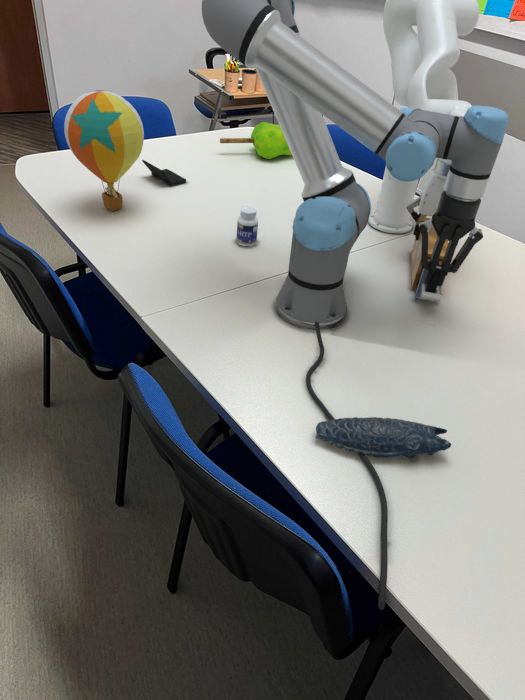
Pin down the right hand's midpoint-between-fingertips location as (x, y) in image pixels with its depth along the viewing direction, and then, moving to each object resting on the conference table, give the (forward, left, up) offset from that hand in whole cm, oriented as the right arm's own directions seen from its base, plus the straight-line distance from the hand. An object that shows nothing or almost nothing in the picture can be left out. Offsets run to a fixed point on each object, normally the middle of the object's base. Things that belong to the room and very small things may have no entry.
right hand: (430, 239), depth 129 cm
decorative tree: (-79, -33, -7) cm, 86 cm away
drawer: (+12, -4, -6) cm, 14 cm away
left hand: (+20, -7, -4) cm, 21 cm away
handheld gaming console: (-52, -67, -7) cm, 85 cm away
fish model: (+59, -30, -7) cm, 67 cm away
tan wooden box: (+4, -2, -7) cm, 8 cm away
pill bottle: (-11, -45, -7) cm, 46 cm away
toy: (-30, -80, -7) cm, 86 cm away
